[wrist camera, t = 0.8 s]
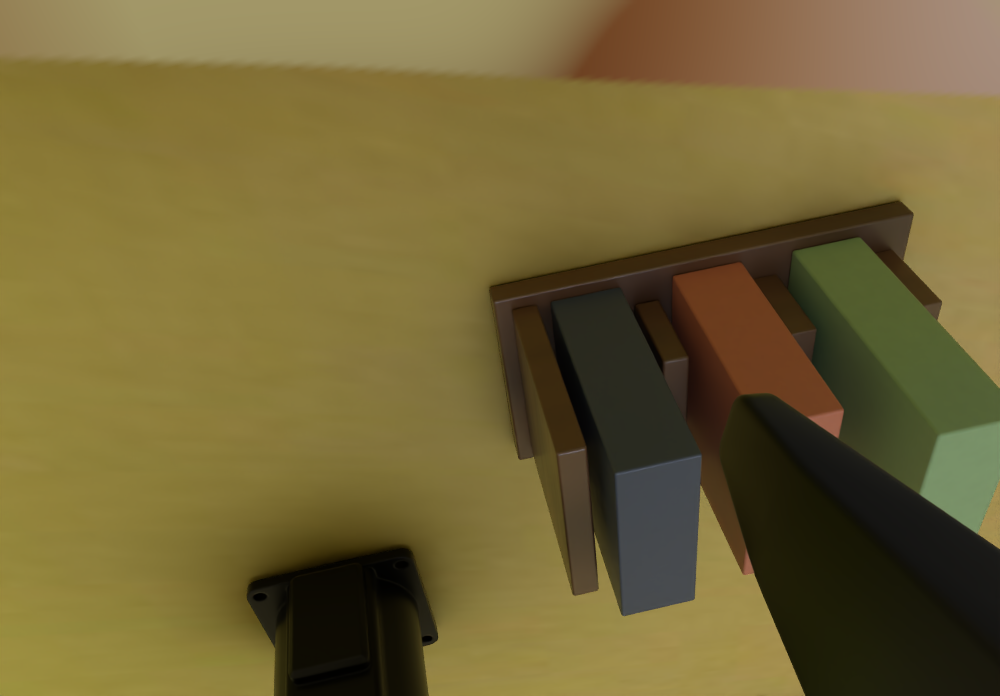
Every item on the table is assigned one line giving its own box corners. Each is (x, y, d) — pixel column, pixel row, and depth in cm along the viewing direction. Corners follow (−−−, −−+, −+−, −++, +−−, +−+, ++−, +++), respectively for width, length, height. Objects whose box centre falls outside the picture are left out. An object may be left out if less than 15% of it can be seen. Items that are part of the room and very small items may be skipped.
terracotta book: (729, 406, 30) (814, 560, 25) (669, 420, 30) (743, 576, 25) (741, 260, 26) (845, 409, 21) (671, 274, 26) (760, 428, 21)
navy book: (625, 429, 30) (695, 600, 25) (565, 443, 30) (622, 617, 25) (620, 285, 26) (703, 454, 20) (549, 300, 26) (614, 474, 20)
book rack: (864, 368, 31) (975, 512, 26) (515, 445, 31) (557, 608, 26) (901, 199, 27) (1044, 335, 21) (488, 286, 26) (535, 447, 21)
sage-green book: (833, 385, 30) (965, 571, 24) (771, 398, 30) (888, 589, 24) (861, 235, 26) (1029, 415, 20) (790, 250, 26) (937, 436, 20)
